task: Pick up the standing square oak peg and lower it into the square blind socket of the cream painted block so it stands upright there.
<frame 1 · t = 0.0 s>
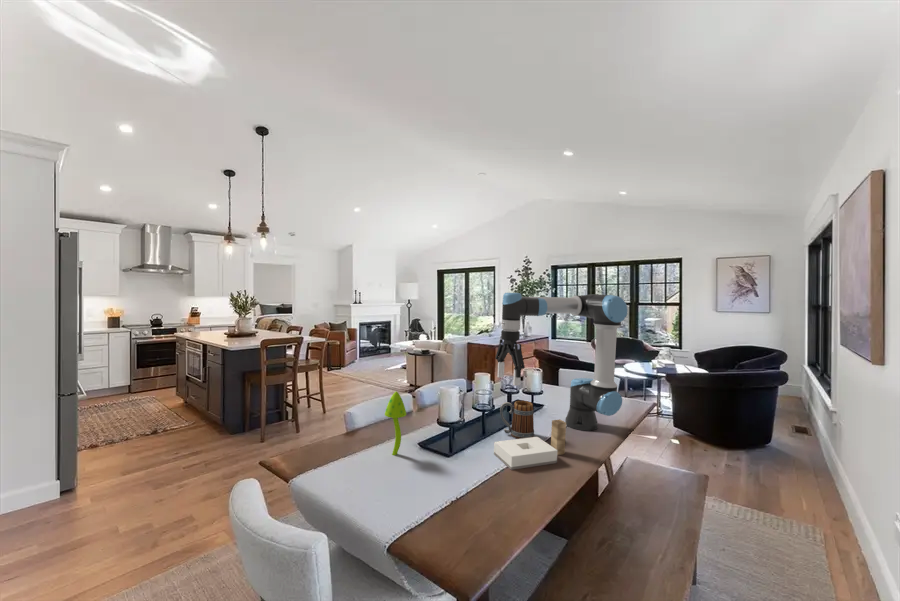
hand: (508, 381, 168), 28 cm above the table, fingers open, 13 cm apart
mug: (516, 435, 184), on the table
mushroom: (394, 454, 160), on the table
block: (524, 458, 160), on the table
pin: (557, 452, 166), on the table
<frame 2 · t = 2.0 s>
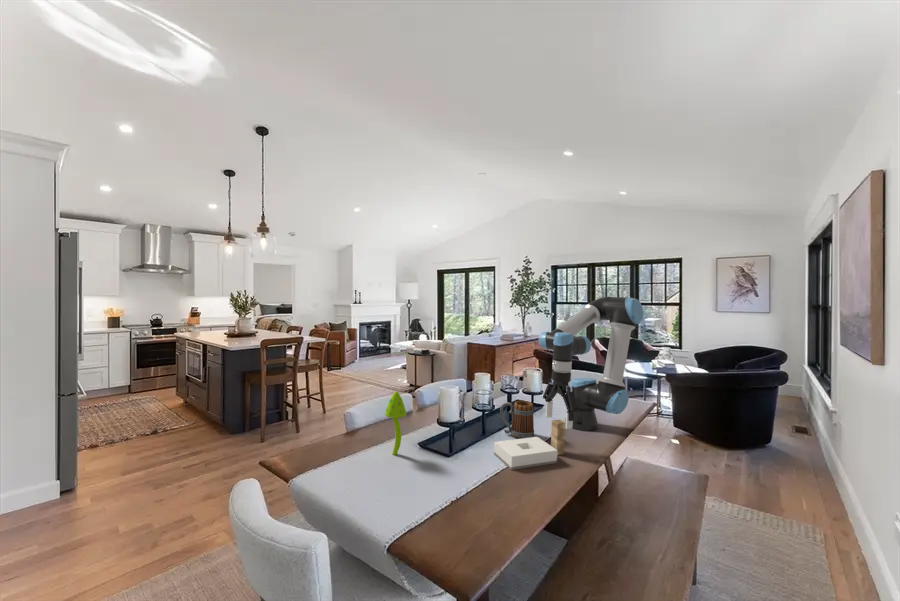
hand: (558, 422, 166), 13 cm above the table, fingers open, 13 cm apart
nothing on the table moved.
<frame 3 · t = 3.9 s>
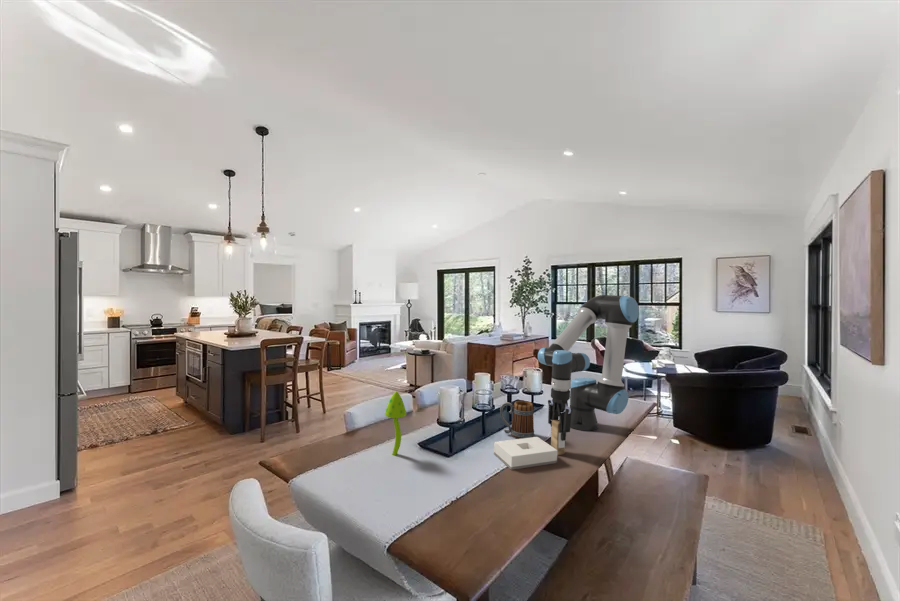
hand: (557, 445, 166), 3 cm above the table, fingers closed on pin, 4 cm apart
pin: (557, 452, 166), on the table, touching gripper
everything else where it was.
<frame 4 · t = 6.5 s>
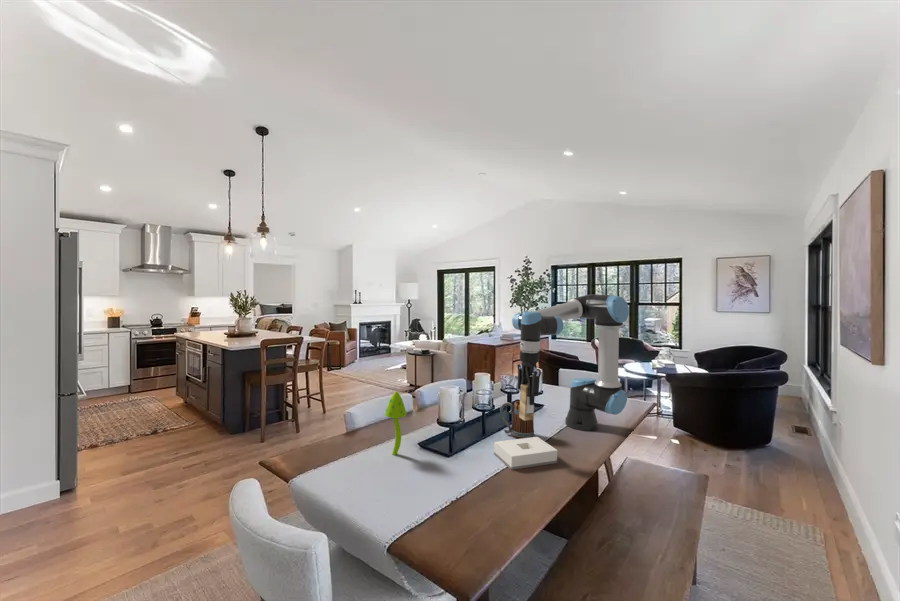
hand: (526, 410, 159), 19 cm above the table, fingers closed on pin, 4 cm apart
pin: (526, 418, 159), point 16 cm above the table, touching gripper
everything else where it was.
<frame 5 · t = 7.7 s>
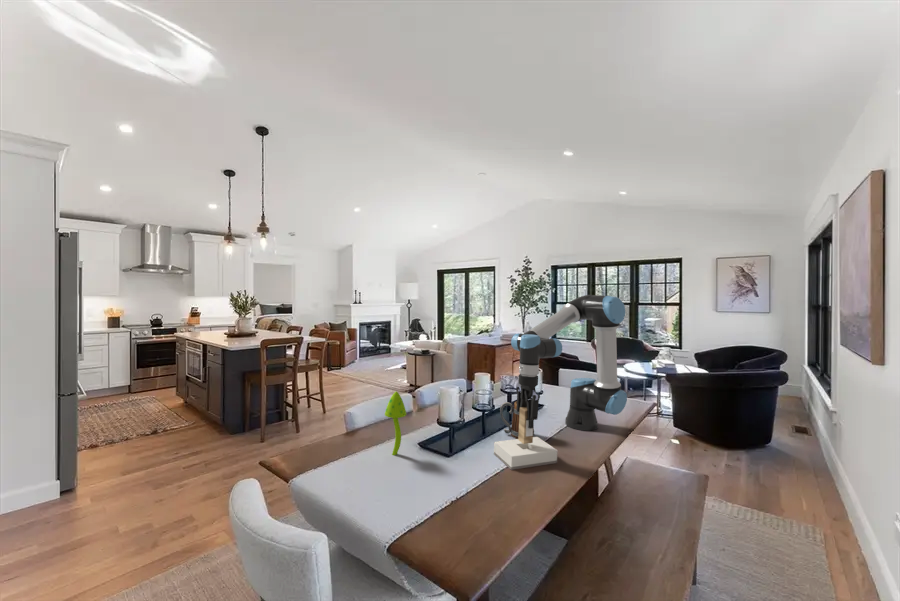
hand: (525, 433, 159), 10 cm above the table, fingers closed on pin, 4 cm apart
pin: (525, 441, 159), point 7 cm above the table, touching gripper
everything else where it was.
when the fingers open (7 cm above the table, at t = 8.9 s): pin drops 2 cm, resting on block.
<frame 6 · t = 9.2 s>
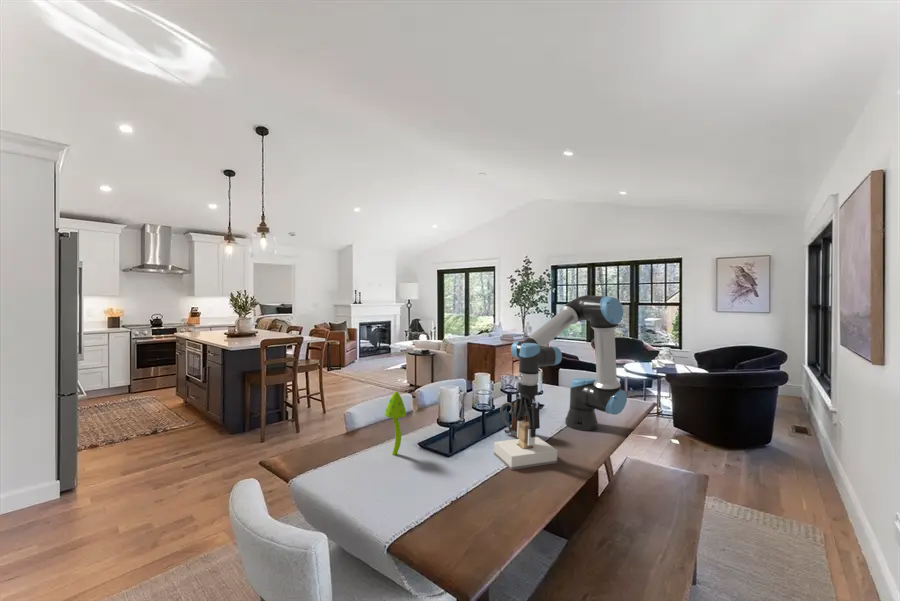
hand: (525, 440, 159), 7 cm above the table, fingers open, 7 cm apart
pin: (524, 455, 160), point 1 cm above the table, touching block
everything else where it was.
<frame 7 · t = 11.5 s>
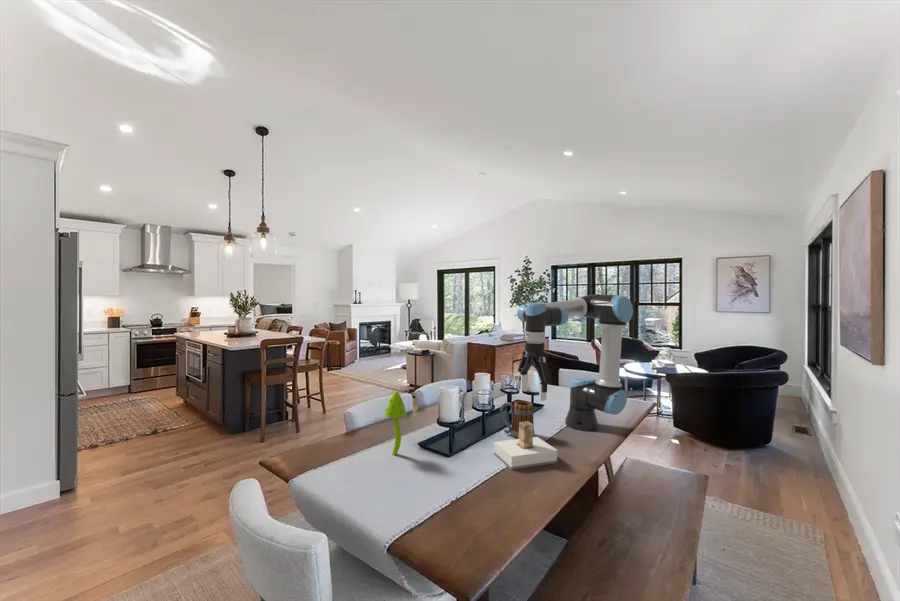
hand: (533, 395, 161), 25 cm above the table, fingers open, 13 cm apart
nothing on the table moved.
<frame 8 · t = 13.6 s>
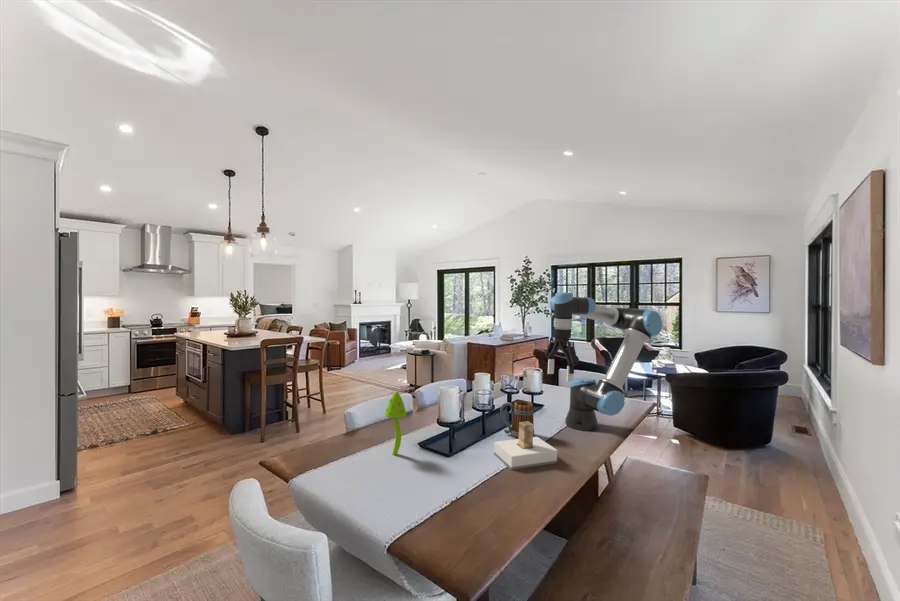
hand: (559, 377, 175), 29 cm above the table, fingers open, 13 cm apart
nothing on the table moved.
at the end: pin 0.1 cm off-centre on the block, point 1.0 cm above the block's base; pin tilted 0°; the gripper is holding nothing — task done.
